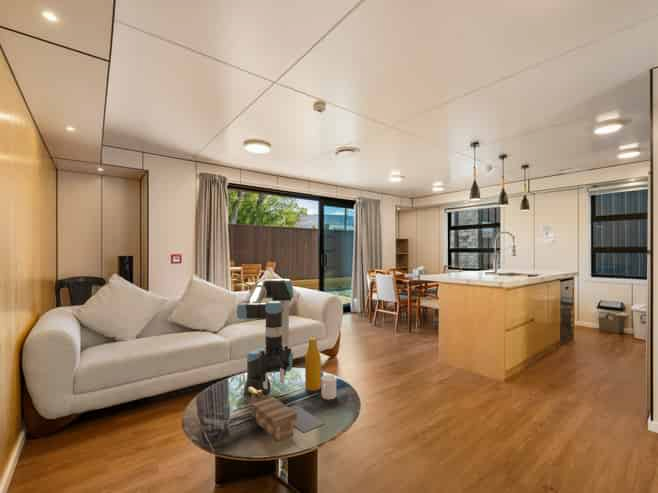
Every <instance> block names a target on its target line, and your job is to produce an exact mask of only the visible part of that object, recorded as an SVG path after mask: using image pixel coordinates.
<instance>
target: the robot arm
mask: <svg viewBox="0 0 658 493" xmlns="http://www.w3.org/2000/svg"><path fill="white" fill-rule="evenodd" d="M294 297H295V296H294V288H293V282H292V279H289V278H270V279H269V278H266V279H262V280H260V281H258V282H256V283H254V284H253V285H252V286H251V288H250V290H249V296H248V297H247V299H246V301H245V302H243V303H238V304H237V307H236V315H237V319H240V320H256V319H257V320H259V319H263V320H264V319H265V348H264V347H261V348H256V349H252V350H250V351H249V352H248V353H247V358H246V365H247V368H246V372H247V373H246V374H247V375H246V381H245V383H244V384H245V385H244V387H243V388H244V389H243V391H244V392H243V393H244V394H245V395H247V396H250V397H252V393H251V392H250V391H248V387H251V386H252V387H253V388H255V389H256V390H262V391H263V395H266V394H268V393H269V392H271V389H272V388H271V387H272V386H271V383H270V378H269V375H268V373H279V383H280V384H282V385H285V376H287V375H286V374H287V372H290V371H291V370H292V366H293V360H294V350H292V346H290V344H289V342H290V341H289V340H290V339H289V338H290V337H289V336H290V335H289V334H290V333H289V331H290V330H289V329H290V328H289V327H290V318H289V317H290V310H289V309H290V303H291V302H292V299H294ZM264 299H271V300H270V301H267V302H263V300H264Z"/></svg>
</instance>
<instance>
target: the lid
mask: <svg viewBox="0 0 658 493" xmlns="http://www.w3.org/2000/svg"><path fill="white" fill-rule="evenodd" d="M289 407H290V406H287V405H285V403H283V402H282V401H280V400H279V399H277V398H275V397H274V396H272V397H269V398H265V400H263V401H260V402H257V403H254V404H253V411H254V412H255V413H257V414H258V415H259V416H260V417H261V418H263V419H264V420H265V421H266V422H268V423H269V424H270V425H271V426H272V427H274V428H277V427H280V426H282V425H285V424H287V423H290V422H292V421H295V420H297V413H296V412H295V411H293V410H292V409H290V408H289Z"/></svg>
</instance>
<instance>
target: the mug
mask: <svg viewBox="0 0 658 493" xmlns="http://www.w3.org/2000/svg"><path fill="white" fill-rule="evenodd" d="M320 389H321V392H320V393H321V398H323V399H324V400H326V401H327V400H330V399H331V400H334V399H336V398H337V377H336V376H334V375H329V374H328V375H323V376H321V387H320Z"/></svg>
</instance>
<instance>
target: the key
mask: <svg viewBox="0 0 658 493" xmlns="http://www.w3.org/2000/svg"><path fill="white" fill-rule="evenodd" d="M248 391H250V392H251V393H252V392H254V393H255V396H256V397H258V398H259V397H262V393H261V390H256V389H255V388H253V387H252V386H251V387H248Z"/></svg>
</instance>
